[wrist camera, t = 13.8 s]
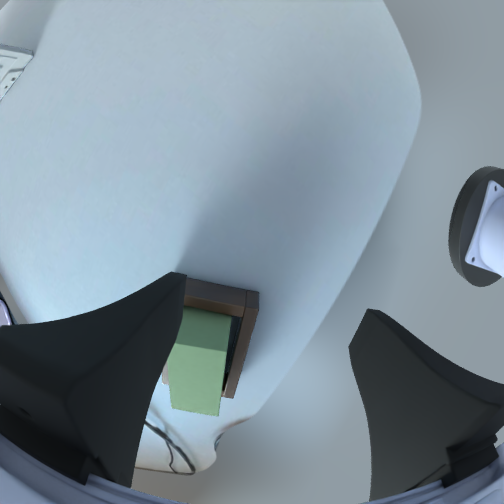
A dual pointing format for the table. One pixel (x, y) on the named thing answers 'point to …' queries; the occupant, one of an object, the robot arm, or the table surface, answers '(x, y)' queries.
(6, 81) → the cassette
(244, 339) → the mounting base
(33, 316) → the table surface
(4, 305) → the mobile phone
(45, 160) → the table surface
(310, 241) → the table surface
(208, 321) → the block
